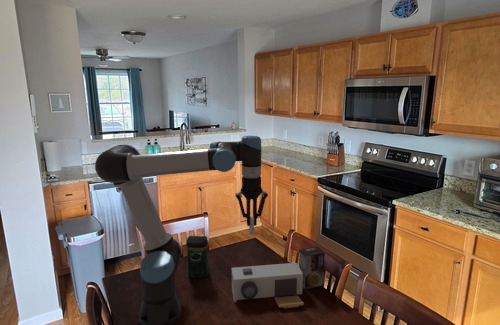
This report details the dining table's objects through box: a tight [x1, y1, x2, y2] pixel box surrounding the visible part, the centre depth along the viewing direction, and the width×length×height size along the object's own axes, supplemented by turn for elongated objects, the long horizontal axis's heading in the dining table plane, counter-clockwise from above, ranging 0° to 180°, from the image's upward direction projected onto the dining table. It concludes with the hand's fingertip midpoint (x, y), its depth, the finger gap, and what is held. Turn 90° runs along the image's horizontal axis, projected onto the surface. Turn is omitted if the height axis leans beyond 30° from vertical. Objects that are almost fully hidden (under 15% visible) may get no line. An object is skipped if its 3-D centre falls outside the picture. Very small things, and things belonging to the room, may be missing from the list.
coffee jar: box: [185, 235, 210, 279], centre depth 150 cm, size 10×8×19 cm
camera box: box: [231, 262, 303, 303], centre depth 136 cm, size 28×11×11 cm, turn 99°
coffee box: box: [298, 245, 325, 290], centre depth 142 cm, size 9×6×16 cm
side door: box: [274, 294, 305, 309], centre depth 130 cm, size 10×1×8 cm
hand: (251, 232), depth 133 cm, fingers closed
